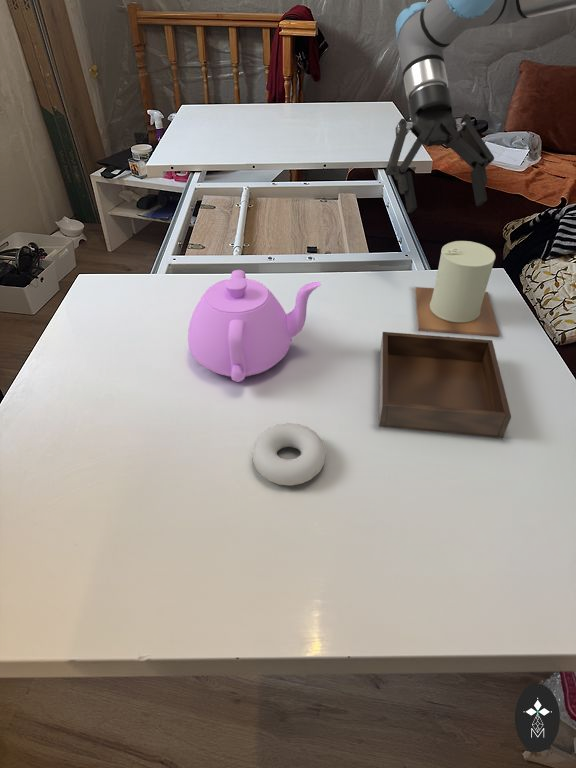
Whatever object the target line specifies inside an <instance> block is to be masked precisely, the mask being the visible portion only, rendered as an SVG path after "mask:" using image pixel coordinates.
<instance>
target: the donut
mask: <svg viewBox="0 0 576 768" xmlns="http://www.w3.org/2000/svg"><path fill="white" fill-rule="evenodd" d="M284 448H294V449H296V450H298V451H299V452H300V455H299V456H298V457H296V458H295V457H294V458H291V459H288V458H287V459H286V458H283V457H280V456H279V455H278V451H280V450H282V449H284ZM326 454H327V451H326V446H325V443H324V441H323V439H322V438H321V437H320V436H319V435H318V433H317V432H316V431H314V430H313V429H311V427H308V426H305V425H303V424H300V423H294V422H293V423H292V422H284V423H278V424H275V425H272V426H270V427H268V428H266V429H264V431H263V432H261V433H260V434H259V436H257V438H256V439H255V441H254V443H253V447H252V451H251V456H252V462H253V466H254V467H255V469H256V470H257V472H258V473H259V474H260V475H261V476H262V477H263V478H265V479H266V480H268V482H272V483H274V484H277V485H280V486H295V485H303V484H304V483H306V482H309V481H310V480H312V479H314V477H315V476H317V475H318V474H319V473H320V472H321V470H322V468H323V466H324V465H325V463H326V456H327V455H326Z"/></svg>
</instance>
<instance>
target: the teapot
mask: <svg viewBox="0 0 576 768" xmlns="http://www.w3.org/2000/svg"><path fill="white" fill-rule="evenodd" d="M246 277H247V276H246V272H245V271H244V270H242V269H234V270H233V271H231V274H230V278H227V279H226V278H225V279H223V280H220V281H218V282H215V283H213V284H212V285H210V286H208V288H207V289H206V290H205V292H204V293H203V295H201V297H200V299H199V301H198V302H197V304H196V306H195V308H194V310H193V312H192V314H191V317H190V320H189V324H188V330H187V344H188V349H189V352H190V353H191V356H192V357H193V358H194V360H195V361H196V362H197V363H198V364H200V365H201V366H202V367H204V368H206V369H207V370H209V371H211V372H214V373H216V374H218V375H221V376H225V377H230V378H231V381H234V382H237V383H239V382H242V381H244V380H245V379H246V377H250V376H255V375H259V374H262V373H264V372H266V371H268V370H269V369H271V368H273V367H274V366H276V365H277V364H278V363H279V362H280V361H282V359H284V358H285V356H286V355H287V353H288V351H289V349H290V347H291V344H292V339H293V338H295V337H296V336H297V335H298V334H299V333H301V331H302V330H303V328H304V326H305V323H306V318H307V307H308V301H309V298H310V295H311V294H312V293H313V291H315V290H316V289H318V287H320V286H321V285H322V281H313V282H309V283H307V284H305V285H302V286H301V287H300V288H299V289H298V291H297V293H296V297H295V303H294V307H293V309H292V310H290V311H289V312H288V313H286V311H285V309H284V307H283V306H282V304H281V302H279V300H278V299H277V298H276V296H275V294H273V293H272V291H271V290H270V289H269V288H268V287H267V286H266V285H264V284H263V283H262V282H260V281H258V280H256V279H255V280H254V279H252V278H246Z"/></svg>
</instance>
